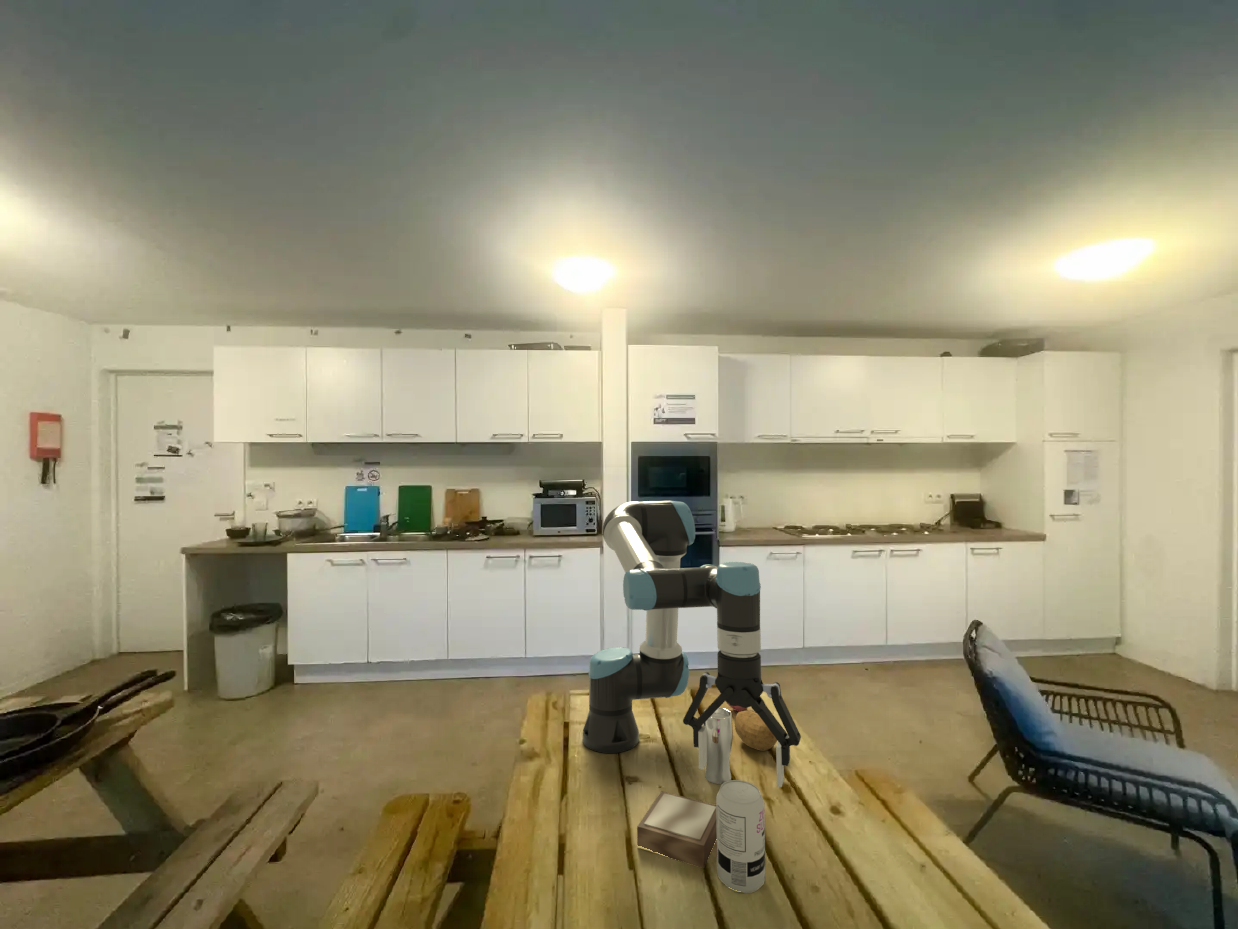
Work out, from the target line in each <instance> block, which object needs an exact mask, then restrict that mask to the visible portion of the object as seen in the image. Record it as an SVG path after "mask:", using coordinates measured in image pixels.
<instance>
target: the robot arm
mask: <svg viewBox="0 0 1238 929" xmlns="http://www.w3.org/2000/svg"><path fill="white" fill-rule="evenodd" d="M602 537H603V539H604V542H605V544H606V545H607V547H608V548H610V549H611V550H613V551H614V553H615V555H616V557H617V559H618V561H619V564H620V565H621V567H622V569H623V570H624V576H623V580H622V582H623V583H622V586H623V587H622V591H623V592H622V594H623V597H624V604H625V605H626V607H627V608H628V609H630V610H635V611H637V610H638V611H639V610H642V611H646V620H645V640H644V641H643V642H642V643H640V645H639V653H633V652H632V650H631V649H630V648H628V647H620V646H619V647H618V646H616V647H608V648H605V649H602V650H599V651H597V652H596V653H594V654H593V655H592V656H591V657H590V660H589V665H588V668H589V669H588V679H589V680H588V682H589V684H588V686H589V688H588V689H589V690H588V692H589V695H588V699H589V700H588V701H589V702H588V705H589V706H588V707H589V710H588V713H587V717H586V720H585V723H584V725H583V729H582V743H583V745H584V746H585V747H586V748H588V749H589V750H591V751H594V752H596V753H597V752H598V753H604V754H618V753H622V752H626V751H629V750H631V749H633V748H634V747H636V746H637V744H638V743H639V741H640V739H639V738H640V736H639V735H640V733H639V728H638V725H637V721H636V719H635V718H636V717H635V715H634V712H633V701H635V700H647V699H659V698H665V699H668V698H671V697H676V696H677V697H678V696H681V695H682V694H684V692H685V691H686V689H687V687H688V682H689V678H690V668H689V659H688V658H689V657H688V656H687V654H686V652H685V651H683V648H682V645H680V644H679V643H678V624H679V609H682V608H683V609H688V608H706V607H712V608H713V607H714V608H715V609H716V618H717V620H716V621H717V622H716V627H717V628H716V630H717V632H716V635H717V637H716V638H717V639H716V640H717V646H716V647H717V648H718V650H719V651H718V652H717V676H714V675H711V674H710V672H708V671H706V672H704V673H702V675H701V676H700V678H699V684H698V688H697V691H696V692H695V695H694V697H693V700H692V702H691V703H690V705H689V707H688V709H687V711H686V713H685V715H684V717H683V719H682V723H683V725H685V726H689V727H691V728H692V731H693V733H692V734H693V735H692V738H693V742H692V743H693V746H694V748H698V769H699V770H704V768H706V766H707V726H703V724H704V723H705V722H706V721H707V720H708V719H709V717H710V716H711V715H712V714H713V713H714V712H715V711H716V710H717V709H718V708H719V707H720V708H721V706H722V705H723V704H724V703H725V702H727V703H728V704H730V706H740V707H743V708H747V709H748V708H750V707H751V709H752V711H753V712H755V713H757V714H758V715H759V716H760V718H761V719H762V720H763V722H764V723H765V724H766V726H767V727H768V728H769V730H770V731H771V732H772V734H773V735H774V736H775V738H776V739H777V743H776V748H775V750H776V752H775V753H776V754H775V756H776V787H778V788H782V787H783V783H784V780H785V766H786V767H789V764H790V761H791V746H795V747H797V746H799V745H800V741H801V739H802V735H801V733H800V731H799V728H798V727H797V725H796V723H795V720H794V719H793V717H792V714H791V712H790V710H789V708H788V706H787V704H786V702H785V700H784V698H783V696H782V691H781V690H782V689H781V685H780V684H781V683H780V682H777V681H775V682H773V683H764V682H763V680H762V656H761V654H760V652H761V649H762V647H761V646H762V645H761V644H762V642H761V639H762V638H761V589H762V587H761V581H760V571H759V568H758V566H756V565H755V564H753V563H750V562H749V563H748V562H741V561H740V562H739V561H729V562H721V563H720V564H703V565H701V566H698V567H684V568H683V567H681V558H683V557H684V556H685V555H686V554H687V547H688V546H691V545H692V544H693V543H695V539H696V526H695V521H694V516H693V514H692V511H691V509H690V507H689V505H688V504H687V503H686V502H683V501H676V500H675V501H674V500H649V501H648V500H647V501H643V500H642V501H627V502H625V503H621V504H620V505H618V506H616V507H615V508H613V509H612V510H611V511H610V512H609V513H608V514H607V516H606V517H605V519H604V521H603V523H602ZM713 685H715V688H717V690H718V692H719V693H720V694H718V696H717V697H716V698H715V699H714V700H713V701H712V703H710V705H709V706H707V708H705V709H706V710H705V709H704V710H705V711H704V710H703V712H702V713H701V714H700V715H699V716H698V717H695V715H696V713H697V712H698V709H699V707H700V705H701V703H702V702H703V699H704V697H705V696H706V693H707V691H708V689H711V688H712V687H713ZM763 692H764V693H766V694H767V697H768V698H770V699H771V701H772V704H773V707H774V708H775V711H776V712H777V715H778V716H779V719H780V721H781V723H782V724H781V723H780V722H779V720H778V719H777V718H776V717H775V716H774V714H773V713H772V712H771V710H770V709H769V707H768V706H767V705H766V703H765V701H764V699H763V698H762V697H761V695H762V694H763ZM727 703H726V704H727ZM728 704H727V705H728ZM730 706H729V707H730ZM782 725H783V726H782Z"/></svg>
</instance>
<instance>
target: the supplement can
mask: <svg viewBox="0 0 1238 929" xmlns="http://www.w3.org/2000/svg"><path fill="white" fill-rule="evenodd" d="M715 799H716V800H715V802H716V804H715V805H716V811H717V840H716V873H717V877H718V879H719V880H720V882H721V883H723V884H725V885H724V886H725V887H727V886H728V887H730V888H732V889H734V890H737V891H741V892H743V893H742V894H752V893H754V892H756V891H758V890H759V889H760V888H761V887H762V886H763V885H764V884H765V880H766V838H765V837H766V836H765V835H766V832H765V831H766V828H765V826H766V824H765V822H766V821H765V818H766V817H765V816H766V815H765V810H766V809H765V801H764V798H763V796H762V794H761V791H760V789H759V788H758V786H756V785H755V784H753V783H751V782H749V781H746V780H740V779H733V780H732V779H731V780H730V781H727V782H725V783H723V784H720V787H719V790H718V792H717V794H716V798H715ZM728 887H727V888H728Z"/></svg>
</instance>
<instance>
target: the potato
mask: <svg viewBox="0 0 1238 929" xmlns="http://www.w3.org/2000/svg"><path fill="white" fill-rule="evenodd" d="M734 730H735V733H736V735H737V736H738V737H739V739H740V740H741V741H742V743H743V744H745V745H746V746H747V747H749V748H752V749H755V750H757V751H762V752H763V751H767V750H770V749H771V748H773V747H775V745H777V743H778V740H777V739H776V738H775V736H774V735H773V734H772V732H771V731H770V730H769V728H768V727H767V726H766V724H765V723H764V722H763V720H762V719H761V718H760V716H759V715H758V714H757V713H755V711H754V710H746V709H745V710H742V711H738V712H737V713H736V715H735V719H734Z"/></svg>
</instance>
